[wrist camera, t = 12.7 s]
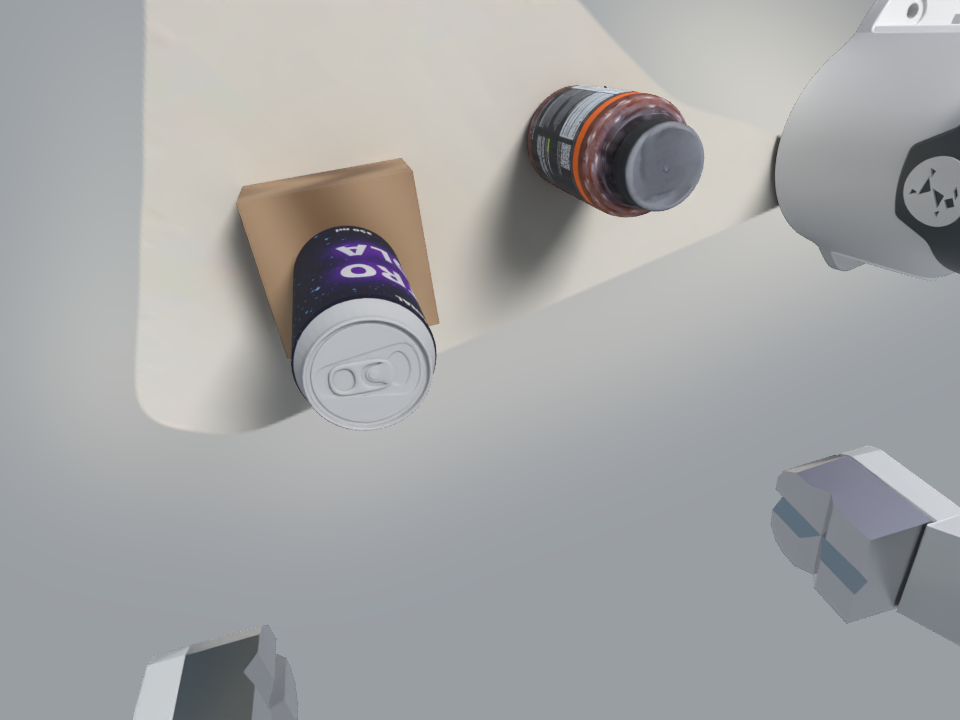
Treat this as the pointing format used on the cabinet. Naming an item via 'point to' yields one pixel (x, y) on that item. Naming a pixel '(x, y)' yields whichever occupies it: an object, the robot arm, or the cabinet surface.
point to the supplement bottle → (615, 149)
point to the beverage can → (358, 331)
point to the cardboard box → (330, 203)
